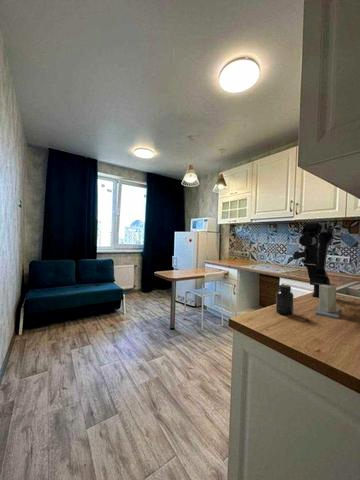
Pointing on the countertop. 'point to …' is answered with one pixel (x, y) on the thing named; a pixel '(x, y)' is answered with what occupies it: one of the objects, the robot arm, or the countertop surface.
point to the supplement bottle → (284, 300)
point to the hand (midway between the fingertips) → (310, 277)
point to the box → (327, 298)
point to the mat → (328, 313)
